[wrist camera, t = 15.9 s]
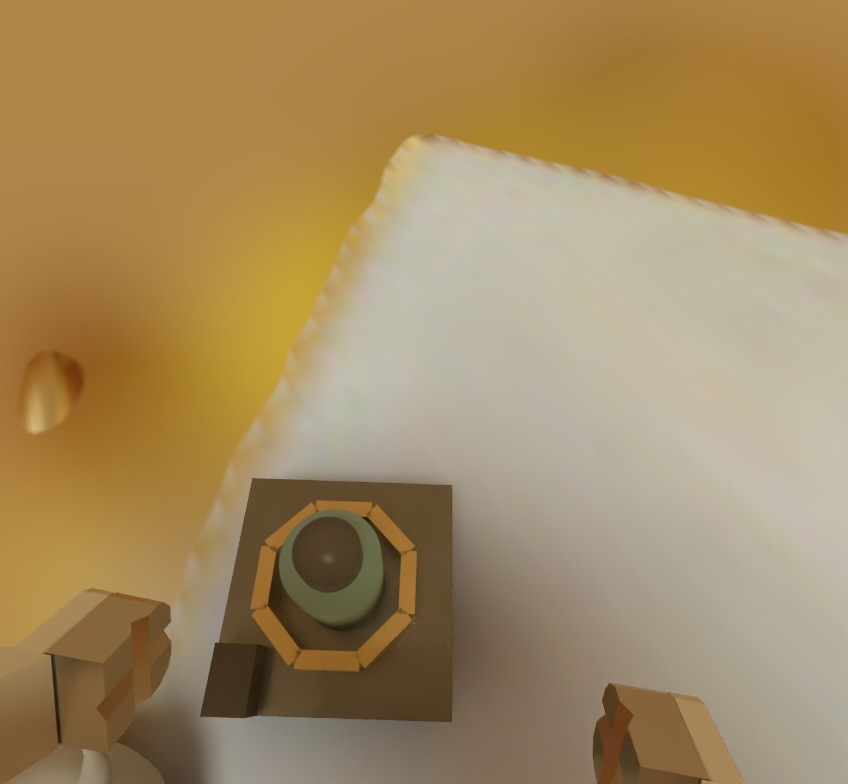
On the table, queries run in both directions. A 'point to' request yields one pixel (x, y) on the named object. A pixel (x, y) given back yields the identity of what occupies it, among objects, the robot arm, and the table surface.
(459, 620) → the table surface
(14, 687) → the robot arm
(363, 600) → the bottle
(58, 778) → the hippopotamus toy
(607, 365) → the table surface
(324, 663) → the octagon ring base
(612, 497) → the table surface
